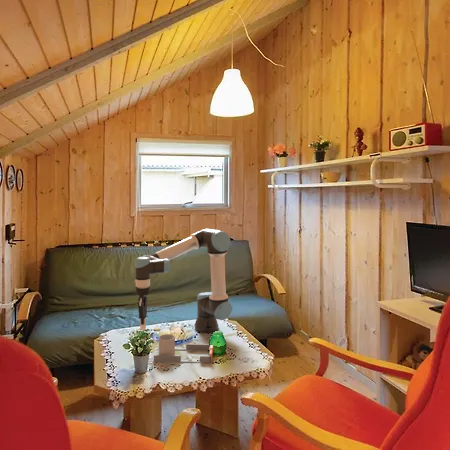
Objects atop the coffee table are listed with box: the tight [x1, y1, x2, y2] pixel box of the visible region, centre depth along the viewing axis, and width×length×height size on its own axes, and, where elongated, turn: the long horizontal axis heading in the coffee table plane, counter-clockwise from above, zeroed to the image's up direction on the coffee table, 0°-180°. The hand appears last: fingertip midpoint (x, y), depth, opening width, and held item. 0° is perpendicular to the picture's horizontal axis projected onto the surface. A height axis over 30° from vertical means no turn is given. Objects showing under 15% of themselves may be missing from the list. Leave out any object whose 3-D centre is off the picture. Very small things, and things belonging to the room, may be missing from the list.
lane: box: [153, 343, 214, 364], centre depth 216 cm, size 30×16×5 cm, turn 88°
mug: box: [158, 333, 176, 355], centre depth 216 cm, size 12×8×11 cm
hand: (143, 329), depth 216 cm, fingers closed
